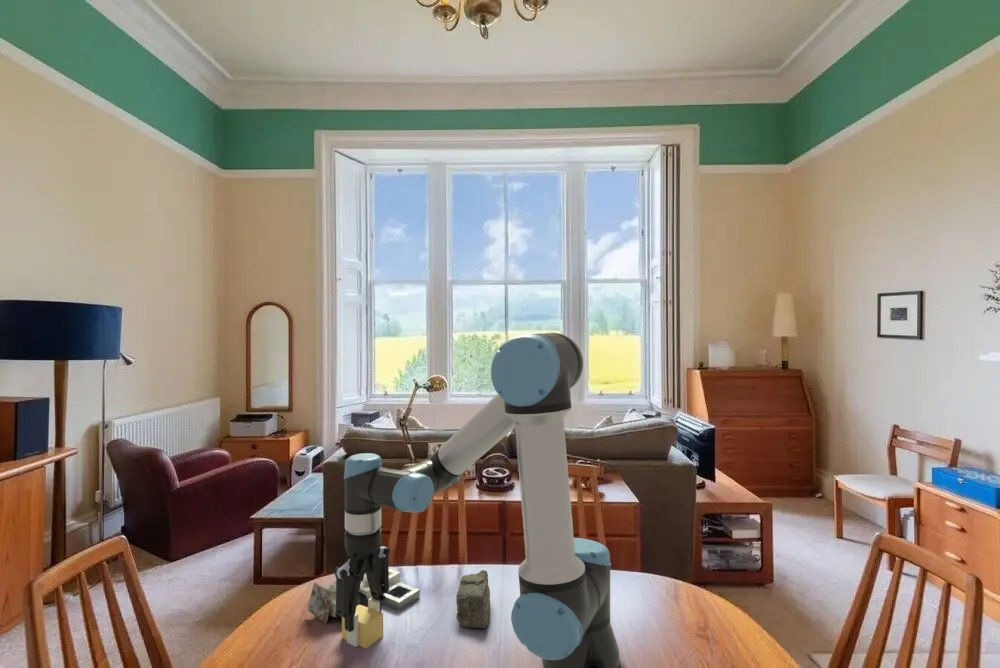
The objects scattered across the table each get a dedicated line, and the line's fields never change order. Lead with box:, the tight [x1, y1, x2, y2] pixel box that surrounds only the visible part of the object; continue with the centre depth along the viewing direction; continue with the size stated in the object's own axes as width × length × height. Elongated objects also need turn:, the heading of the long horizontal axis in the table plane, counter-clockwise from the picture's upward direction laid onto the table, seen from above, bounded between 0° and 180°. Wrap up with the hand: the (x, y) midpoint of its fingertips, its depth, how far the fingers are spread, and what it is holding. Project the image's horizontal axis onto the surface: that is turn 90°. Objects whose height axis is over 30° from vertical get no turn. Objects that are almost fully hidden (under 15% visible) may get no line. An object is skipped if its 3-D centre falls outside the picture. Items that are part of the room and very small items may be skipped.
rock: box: [455, 569, 491, 629], centre depth 121 cm, size 17×7×10 cm
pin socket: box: [381, 581, 421, 612], centre depth 127 cm, size 7×7×2 cm
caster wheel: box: [307, 581, 368, 625], centre depth 121 cm, size 7×11×10 cm
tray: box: [334, 568, 401, 607], centre depth 132 cm, size 11×11×4 cm
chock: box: [341, 604, 384, 649], centre depth 112 cm, size 7×5×5 cm
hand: (363, 636), depth 112 cm, fingers open, 5 cm apart
